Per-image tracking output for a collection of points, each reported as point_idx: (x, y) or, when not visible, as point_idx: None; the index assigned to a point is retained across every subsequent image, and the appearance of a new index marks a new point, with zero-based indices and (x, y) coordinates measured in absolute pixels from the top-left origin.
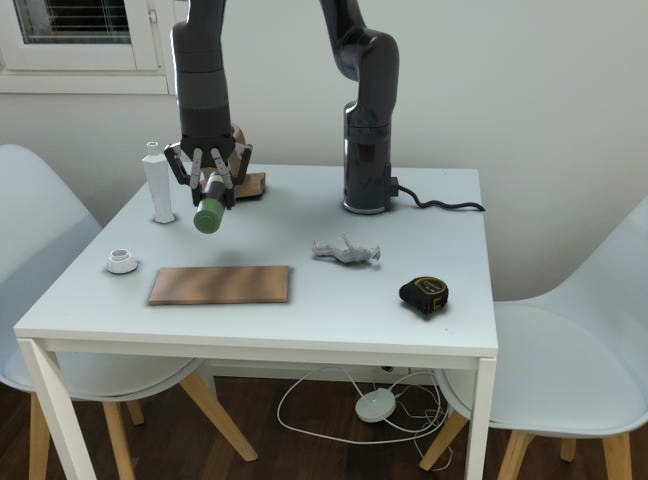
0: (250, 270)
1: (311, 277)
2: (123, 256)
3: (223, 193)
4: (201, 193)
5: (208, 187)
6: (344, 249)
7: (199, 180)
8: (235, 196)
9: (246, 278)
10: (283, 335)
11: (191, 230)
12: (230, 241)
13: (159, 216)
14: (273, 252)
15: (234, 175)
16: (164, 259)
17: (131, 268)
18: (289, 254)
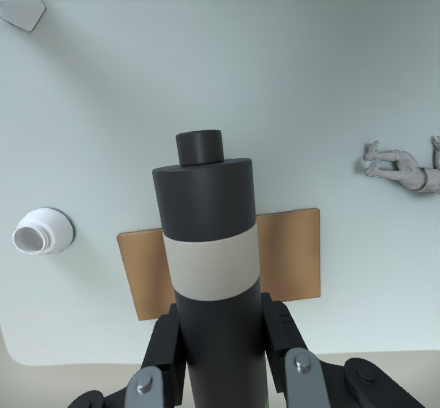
0: (261, 231)
1: (350, 227)
2: (43, 250)
3: (260, 349)
4: (181, 355)
5: (200, 346)
6: (428, 179)
7: (165, 392)
8: (291, 317)
9: (259, 255)
10: (317, 353)
11: (105, 65)
12: (200, 112)
13: (5, 15)
14: (286, 150)
15: (338, 403)
16: (105, 193)
17: (69, 243)
18: (314, 155)
